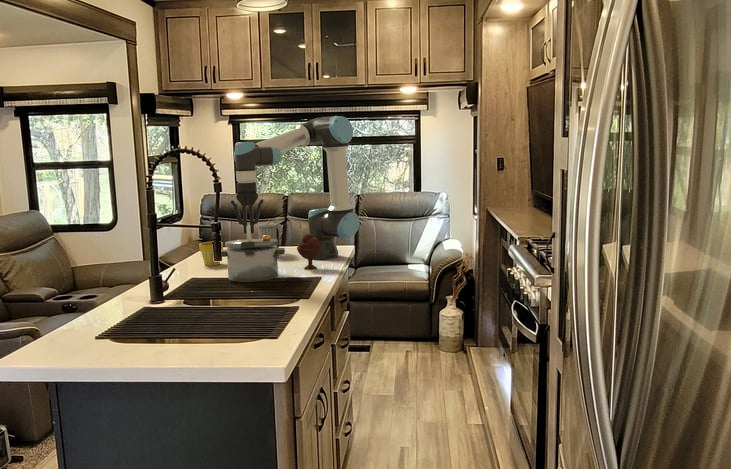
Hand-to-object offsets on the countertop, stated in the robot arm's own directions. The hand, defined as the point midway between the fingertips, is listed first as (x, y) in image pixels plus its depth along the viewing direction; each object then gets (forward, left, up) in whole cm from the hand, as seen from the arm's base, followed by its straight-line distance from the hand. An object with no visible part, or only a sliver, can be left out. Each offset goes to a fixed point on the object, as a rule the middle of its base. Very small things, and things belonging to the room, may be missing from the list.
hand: (249, 241), depth 243 cm
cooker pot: (0, -6, -15) cm, 16 cm away
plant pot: (+22, -36, -16) cm, 45 cm away
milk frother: (+1, -55, -16) cm, 57 cm away
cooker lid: (0, -5, -2) cm, 5 cm away
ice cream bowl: (-23, -17, -16) cm, 33 cm away
